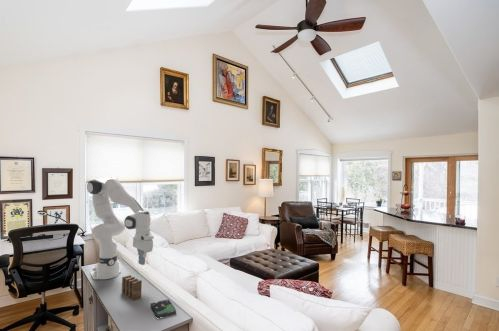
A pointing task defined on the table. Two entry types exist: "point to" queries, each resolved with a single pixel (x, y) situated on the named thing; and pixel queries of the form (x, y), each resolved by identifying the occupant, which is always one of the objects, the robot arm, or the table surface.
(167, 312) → the disk drive
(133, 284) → the domino
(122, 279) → the domino
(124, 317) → the table surface
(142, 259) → the end domino
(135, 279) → the domino
